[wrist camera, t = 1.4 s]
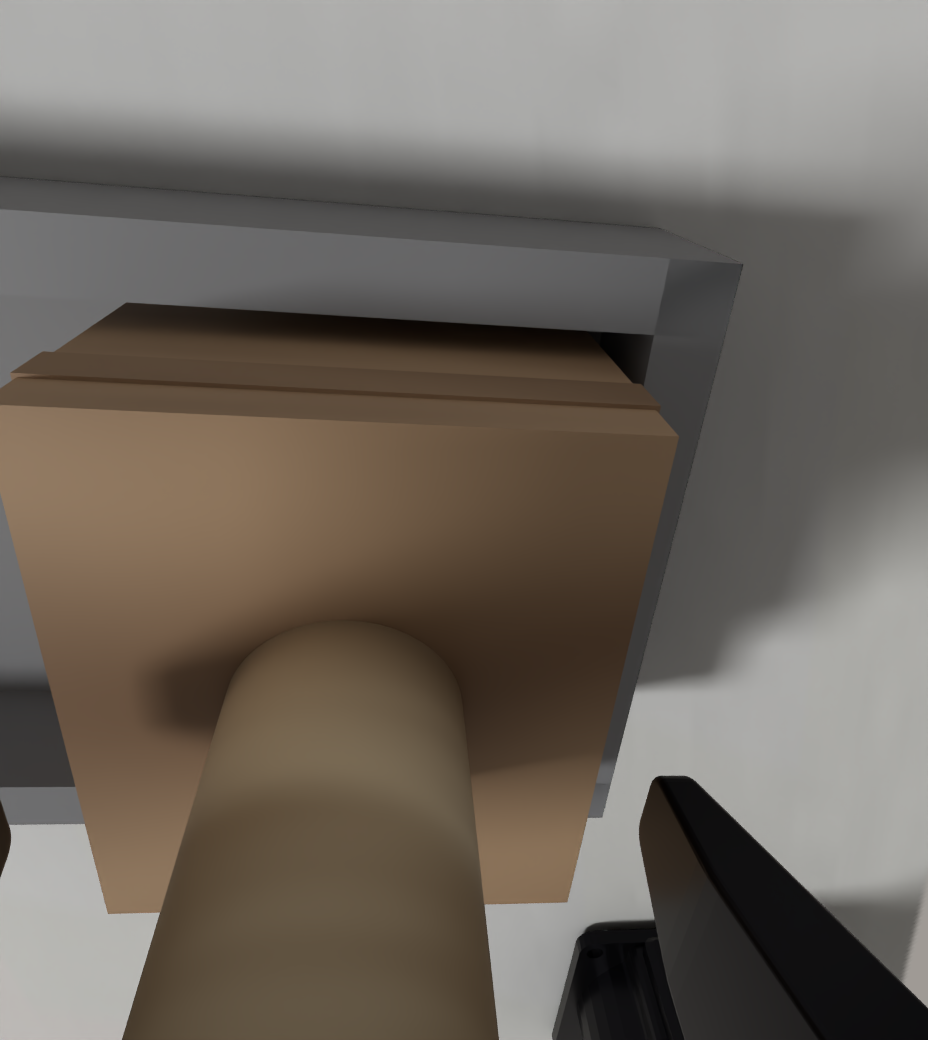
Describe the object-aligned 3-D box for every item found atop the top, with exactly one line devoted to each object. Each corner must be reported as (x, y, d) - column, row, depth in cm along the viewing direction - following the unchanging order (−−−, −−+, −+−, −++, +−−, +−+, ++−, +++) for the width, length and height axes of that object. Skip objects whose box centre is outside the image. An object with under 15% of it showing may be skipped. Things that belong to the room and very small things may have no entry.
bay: (567, 697, 18) (602, 817, 15) (-339, 691, 16) (-517, 830, 13) (659, 228, 13) (743, 263, 10) (-678, 123, 10) (-1124, 126, 7)
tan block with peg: (523, 688, 16) (672, 1379, 7) (189, 686, 15) (-94, 1455, 6) (581, 317, 12) (1061, 848, 3) (136, 289, 11) (-760, 879, 3)
